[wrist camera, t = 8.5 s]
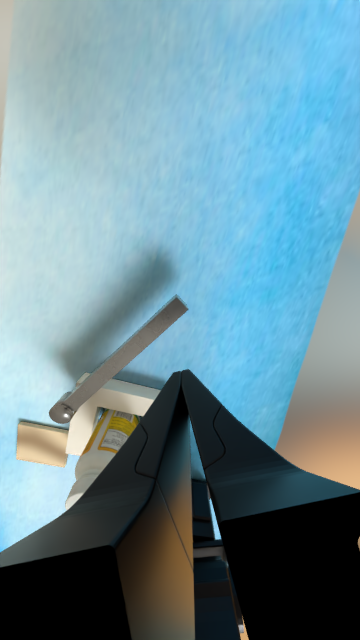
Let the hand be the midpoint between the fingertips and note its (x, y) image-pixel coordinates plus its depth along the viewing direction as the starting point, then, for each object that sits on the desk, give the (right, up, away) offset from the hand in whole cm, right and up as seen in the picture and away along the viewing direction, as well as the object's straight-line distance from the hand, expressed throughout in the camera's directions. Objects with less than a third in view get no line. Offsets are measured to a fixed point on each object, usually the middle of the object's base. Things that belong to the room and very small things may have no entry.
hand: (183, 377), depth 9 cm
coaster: (-21, -16, +16) cm, 31 cm away
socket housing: (-9, -11, +15) cm, 21 cm away
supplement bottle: (-9, -11, +16) cm, 21 cm away
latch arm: (-7, -1, +10) cm, 12 cm away
